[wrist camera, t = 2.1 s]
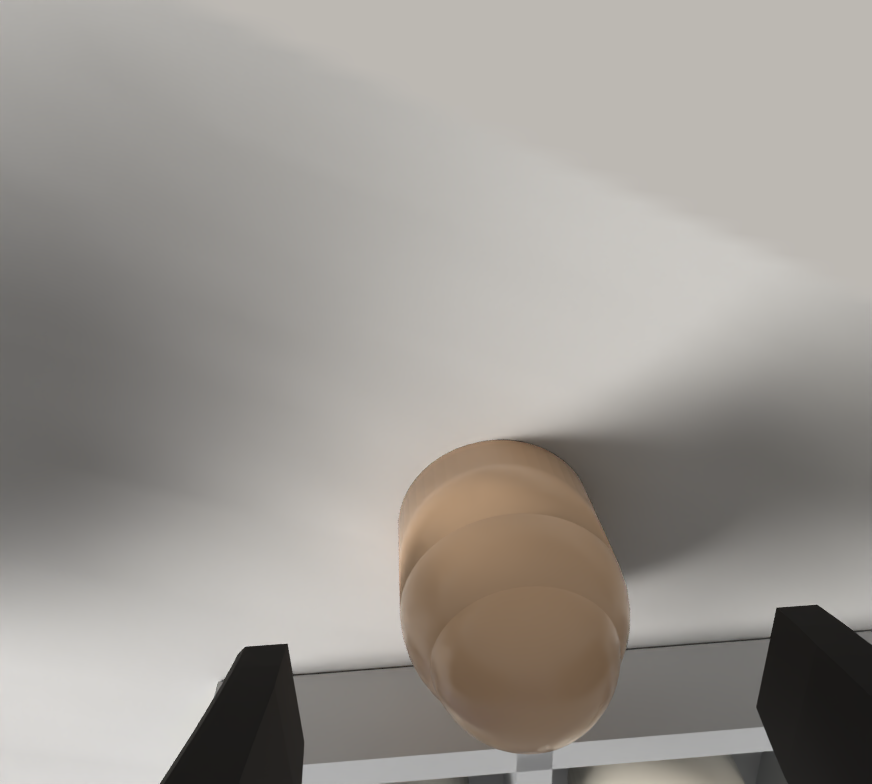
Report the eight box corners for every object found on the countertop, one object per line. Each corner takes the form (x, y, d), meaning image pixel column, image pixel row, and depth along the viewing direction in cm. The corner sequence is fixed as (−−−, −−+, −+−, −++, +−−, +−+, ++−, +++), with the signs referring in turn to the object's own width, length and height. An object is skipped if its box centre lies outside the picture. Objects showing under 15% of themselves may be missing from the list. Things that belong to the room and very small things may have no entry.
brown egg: (585, 592, 15) (663, 807, 11) (404, 605, 15) (410, 829, 11) (594, 433, 14) (691, 611, 9) (391, 446, 13) (393, 633, 9)
